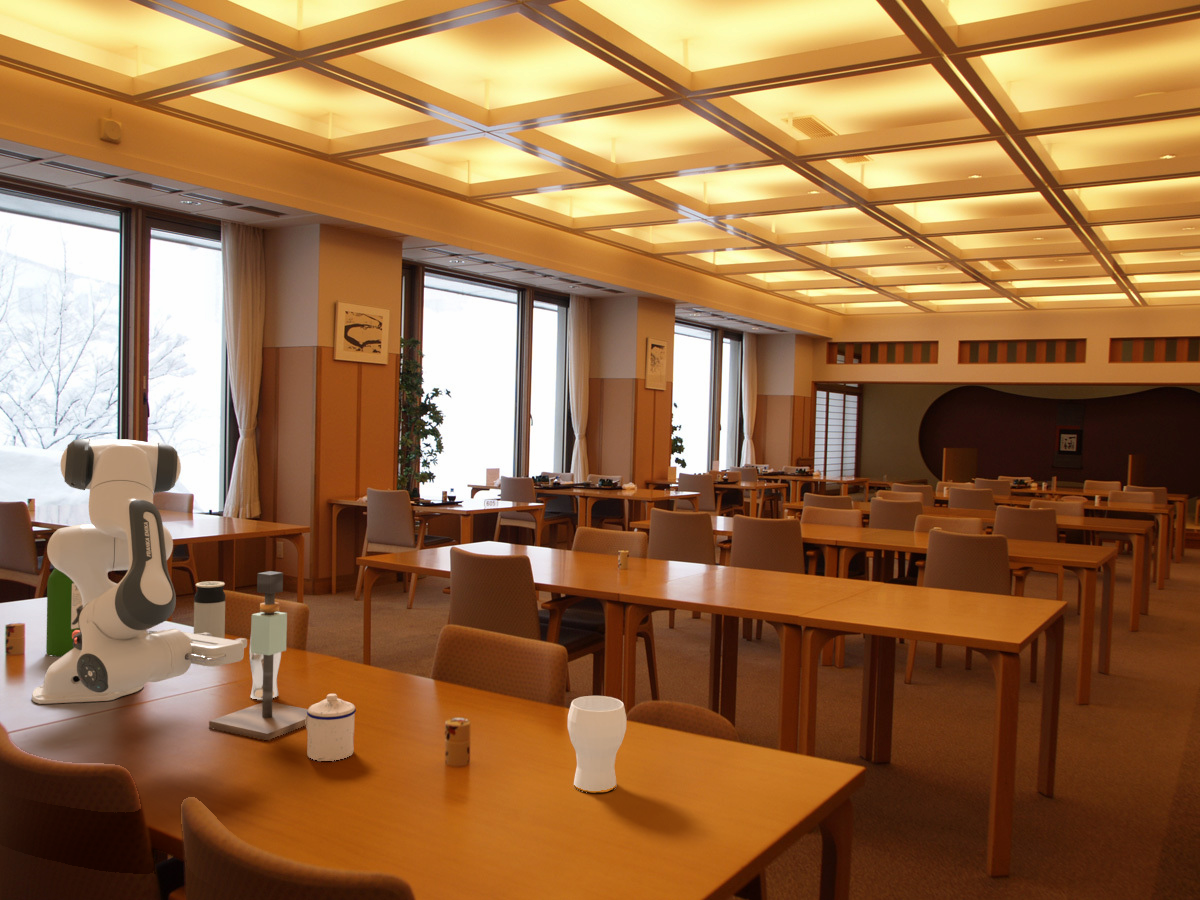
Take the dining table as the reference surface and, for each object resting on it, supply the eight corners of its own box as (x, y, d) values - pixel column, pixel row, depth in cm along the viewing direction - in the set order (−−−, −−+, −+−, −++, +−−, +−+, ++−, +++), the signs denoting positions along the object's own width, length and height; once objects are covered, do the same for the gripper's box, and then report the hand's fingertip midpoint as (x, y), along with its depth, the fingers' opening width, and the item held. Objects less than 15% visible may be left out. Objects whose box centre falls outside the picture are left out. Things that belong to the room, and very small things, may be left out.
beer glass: (285, 693, 216) (286, 629, 216) (272, 701, 209) (273, 636, 209) (257, 691, 217) (258, 628, 217) (242, 700, 210) (244, 634, 210)
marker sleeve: (268, 655, 191) (269, 617, 191) (250, 652, 193) (251, 614, 193) (286, 650, 195) (287, 613, 195) (268, 647, 197) (269, 610, 197)
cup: (604, 802, 159) (607, 716, 159) (554, 788, 165) (556, 704, 164) (635, 783, 168) (637, 701, 168) (586, 770, 174) (588, 691, 173)
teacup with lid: (364, 753, 179) (366, 694, 179) (326, 766, 171) (327, 704, 171) (325, 739, 186) (326, 682, 186) (286, 751, 178) (288, 692, 178)
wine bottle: (72, 657, 242) (74, 534, 241) (38, 656, 242) (40, 533, 242) (91, 649, 251) (93, 530, 250) (59, 647, 251) (61, 529, 251)
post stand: (267, 741, 184) (270, 582, 183) (209, 728, 191) (212, 574, 190) (322, 719, 198) (326, 571, 198) (266, 707, 205) (269, 564, 204)
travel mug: (207, 652, 251) (209, 587, 251) (186, 648, 255) (188, 584, 254) (230, 646, 259) (232, 582, 258) (210, 643, 262) (211, 580, 261)
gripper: (209, 644, 167) (266, 629, 179) (131, 630, 175) (190, 618, 188) (208, 678, 167) (265, 662, 179) (130, 663, 175) (190, 649, 188)
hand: (226, 639), depth 184 cm, fingers open, 8 cm apart
